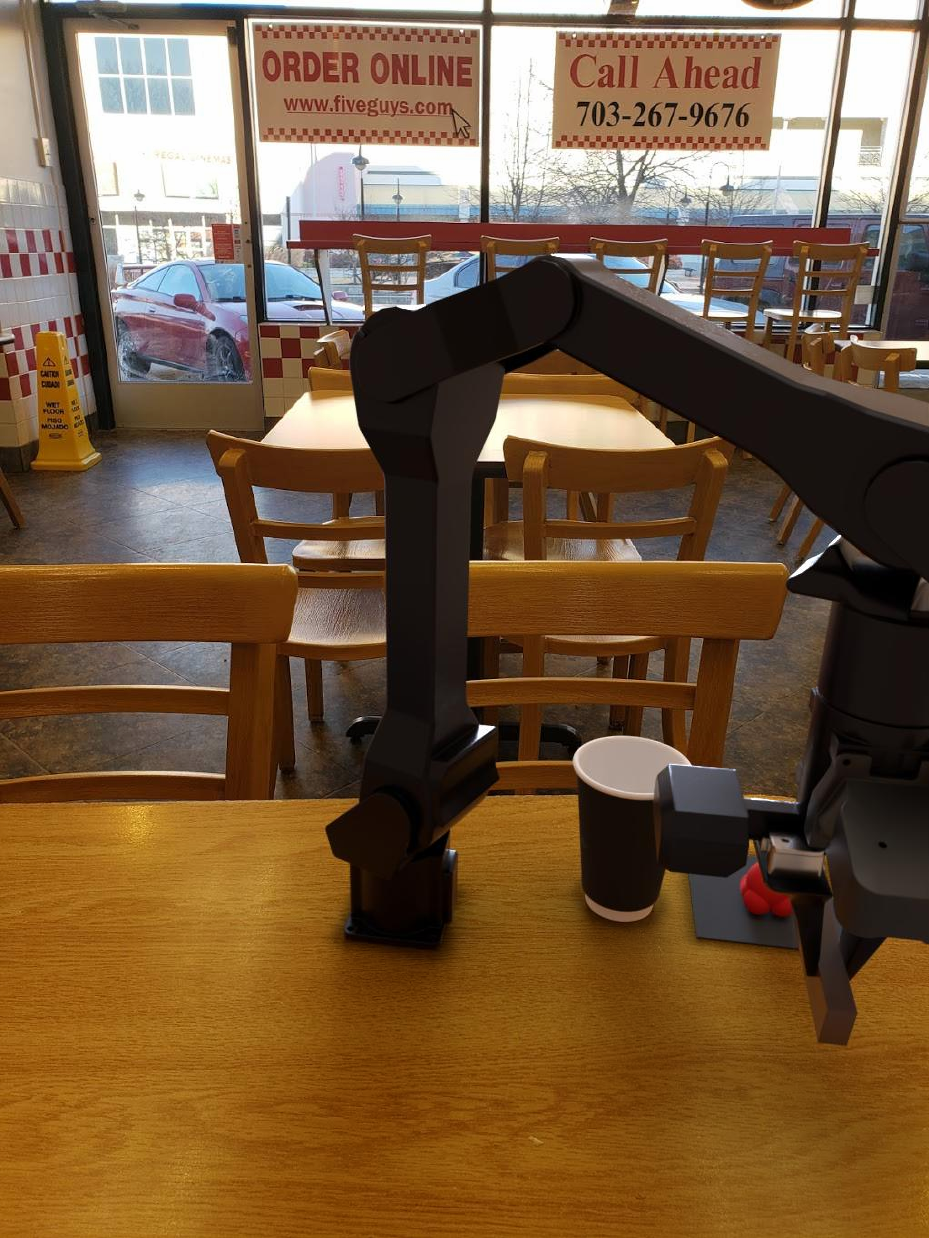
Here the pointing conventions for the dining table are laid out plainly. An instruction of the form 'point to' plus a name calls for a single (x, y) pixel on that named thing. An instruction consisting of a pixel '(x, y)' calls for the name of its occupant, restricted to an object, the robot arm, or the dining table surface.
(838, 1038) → the fork
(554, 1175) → the dining table surface
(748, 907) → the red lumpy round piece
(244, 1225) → the dining table surface
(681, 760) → the dixie cup
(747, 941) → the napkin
